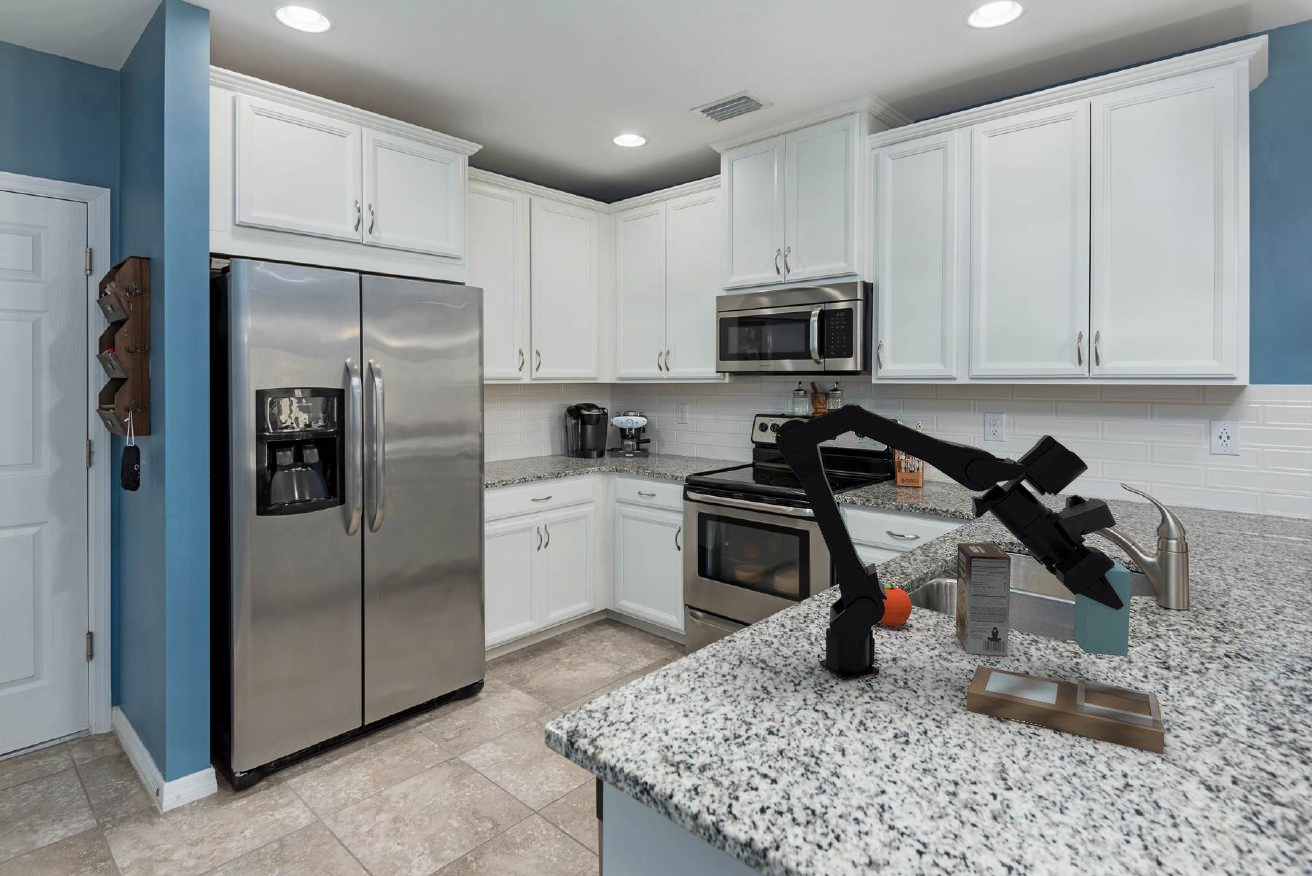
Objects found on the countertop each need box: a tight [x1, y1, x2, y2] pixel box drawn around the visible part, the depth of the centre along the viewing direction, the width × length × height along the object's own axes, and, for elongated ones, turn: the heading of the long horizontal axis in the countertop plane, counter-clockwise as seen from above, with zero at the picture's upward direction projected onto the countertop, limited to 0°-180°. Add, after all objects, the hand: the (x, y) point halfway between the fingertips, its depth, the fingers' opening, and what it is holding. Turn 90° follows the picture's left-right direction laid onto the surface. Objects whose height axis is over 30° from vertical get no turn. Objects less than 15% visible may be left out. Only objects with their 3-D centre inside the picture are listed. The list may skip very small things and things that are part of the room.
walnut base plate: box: [966, 665, 1165, 754], centre depth 90 cm, size 21×10×4 cm, turn 58°
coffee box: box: [955, 542, 1012, 657], centre depth 114 cm, size 9×6×16 cm
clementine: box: [879, 584, 913, 627], centre depth 125 cm, size 8×7×7 cm
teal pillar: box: [1073, 560, 1132, 657], centre depth 96 cm, size 5×5×12 cm
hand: (1113, 601), depth 95 cm, fingers closed on teal pillar, 5 cm apart
